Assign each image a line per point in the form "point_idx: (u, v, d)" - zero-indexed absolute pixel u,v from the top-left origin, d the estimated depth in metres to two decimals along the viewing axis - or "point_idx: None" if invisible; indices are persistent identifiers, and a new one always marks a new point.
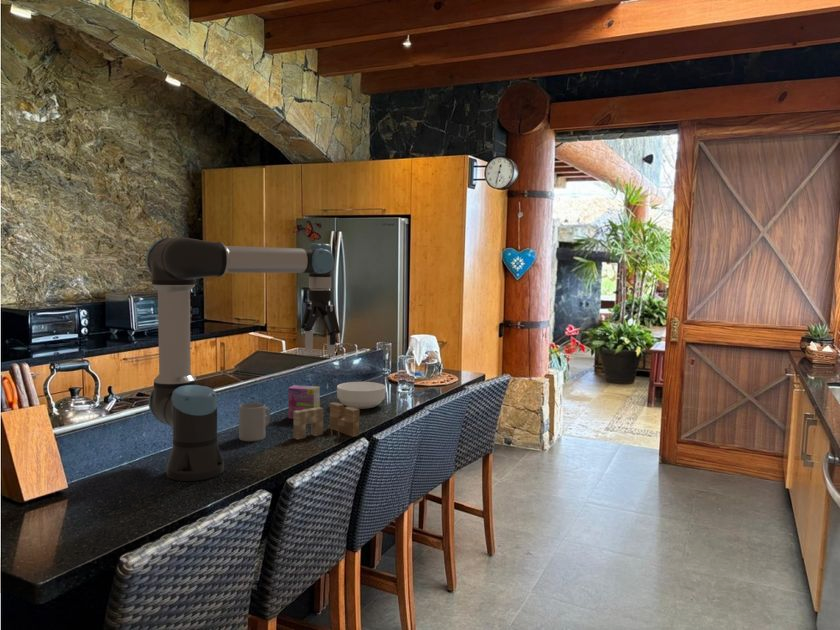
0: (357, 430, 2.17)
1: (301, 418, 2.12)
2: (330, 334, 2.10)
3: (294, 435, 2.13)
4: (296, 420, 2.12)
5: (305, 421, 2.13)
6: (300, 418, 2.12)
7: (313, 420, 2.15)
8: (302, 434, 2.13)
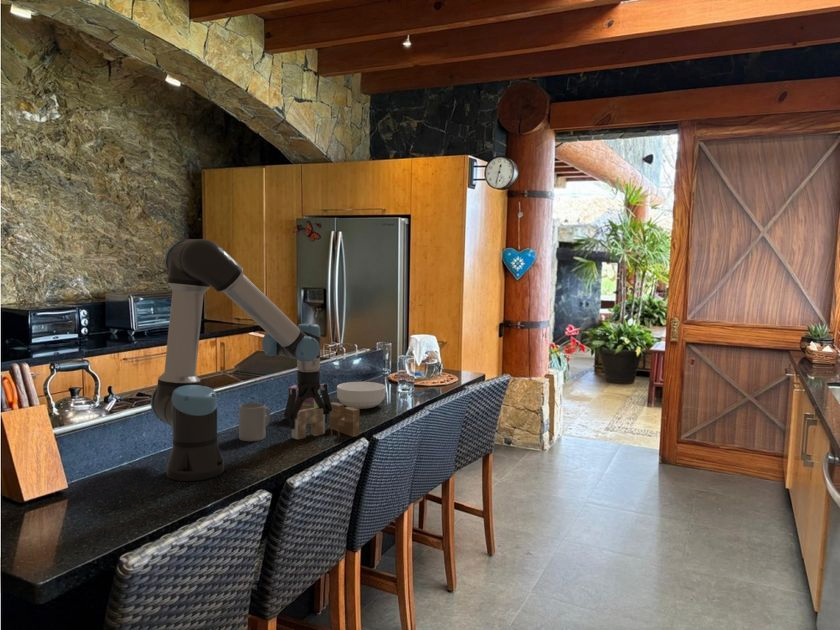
0: (357, 430, 2.17)
1: (301, 418, 2.12)
2: None
3: None
4: None
5: (306, 421, 2.13)
6: (300, 418, 2.12)
7: (313, 420, 2.15)
8: (302, 434, 2.13)
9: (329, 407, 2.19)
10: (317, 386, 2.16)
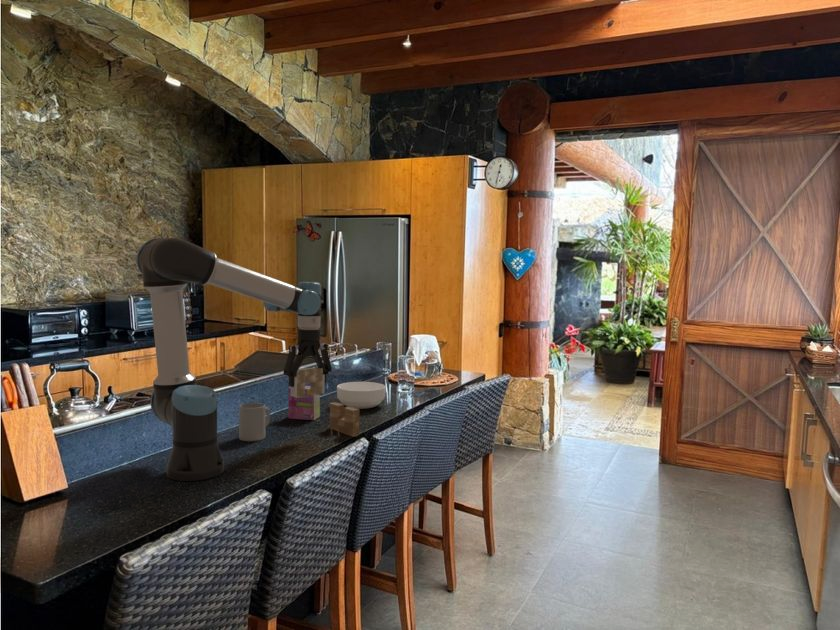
0: (357, 430, 2.17)
1: (300, 376, 2.11)
2: (288, 375, 2.10)
3: None
4: None
5: (305, 379, 2.12)
6: (300, 376, 2.10)
7: (312, 379, 2.14)
8: (301, 393, 2.11)
9: (329, 367, 2.18)
10: (317, 345, 2.14)
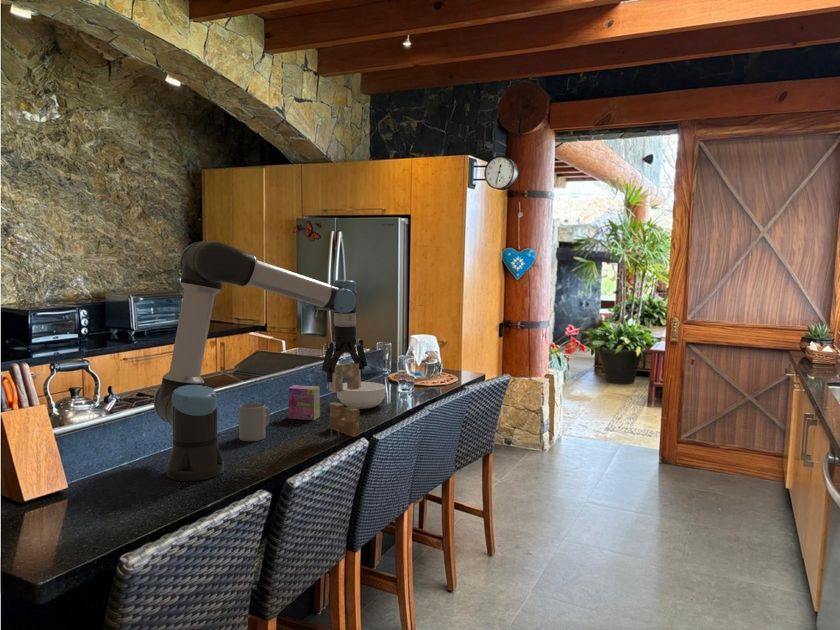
0: (357, 430, 2.17)
1: (338, 372, 2.17)
2: (326, 371, 2.17)
3: None
4: None
5: (342, 375, 2.18)
6: (337, 371, 2.17)
7: (349, 374, 2.20)
8: (339, 387, 2.18)
9: (364, 362, 2.24)
10: (353, 341, 2.20)
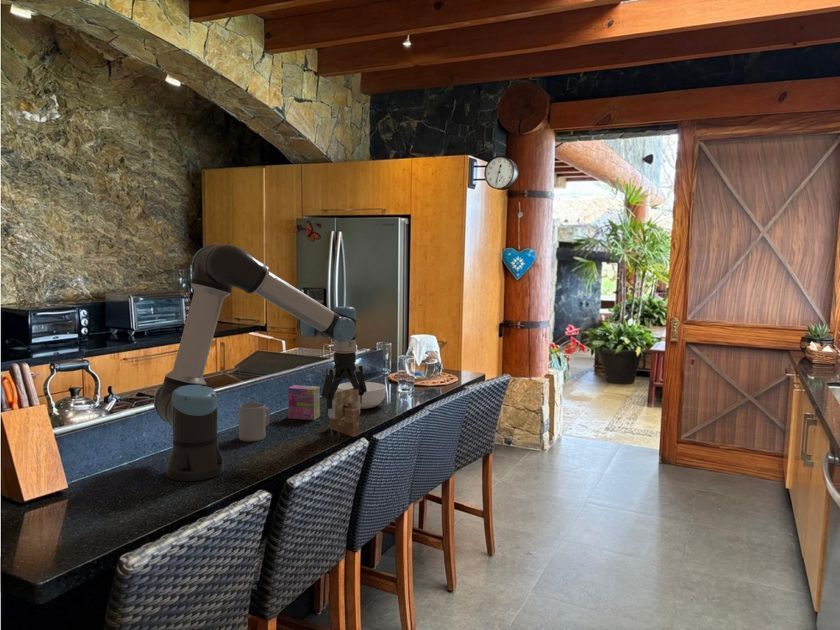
0: (357, 430, 2.17)
1: (338, 398, 2.18)
2: None
3: None
4: None
5: (342, 401, 2.19)
6: (337, 398, 2.18)
7: (349, 400, 2.21)
8: (339, 414, 2.19)
9: (364, 388, 2.25)
10: (353, 367, 2.21)
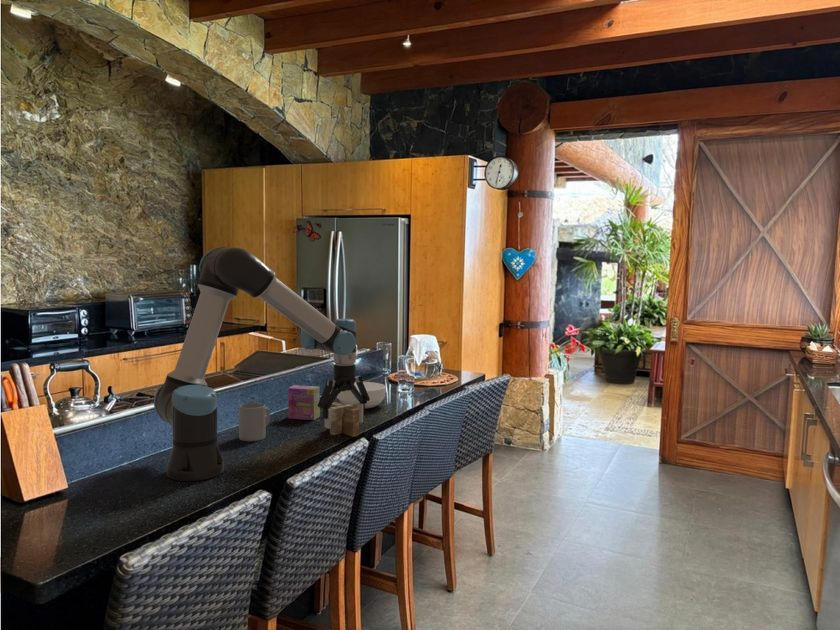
0: (357, 430, 2.17)
1: (338, 414, 2.18)
2: None
3: (331, 431, 2.19)
4: (333, 416, 2.18)
5: (342, 417, 2.20)
6: (337, 414, 2.18)
7: None
8: (338, 430, 2.19)
9: (367, 397, 2.26)
10: (352, 380, 2.22)
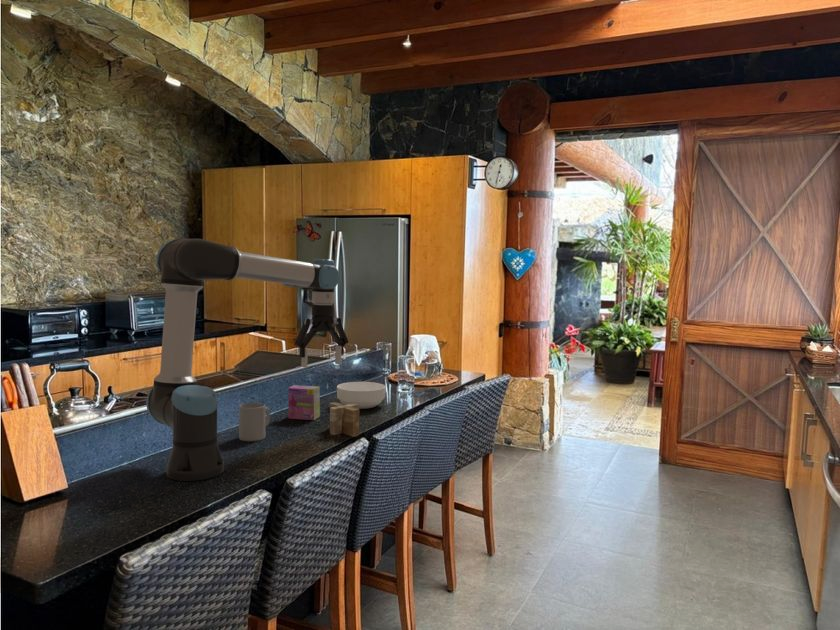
0: (357, 430, 2.17)
1: (338, 414, 2.18)
2: (299, 346, 2.16)
3: (331, 431, 2.19)
4: (333, 416, 2.18)
5: (342, 417, 2.20)
6: (337, 414, 2.18)
7: None
8: (338, 430, 2.19)
9: (345, 340, 2.26)
10: (331, 321, 2.21)
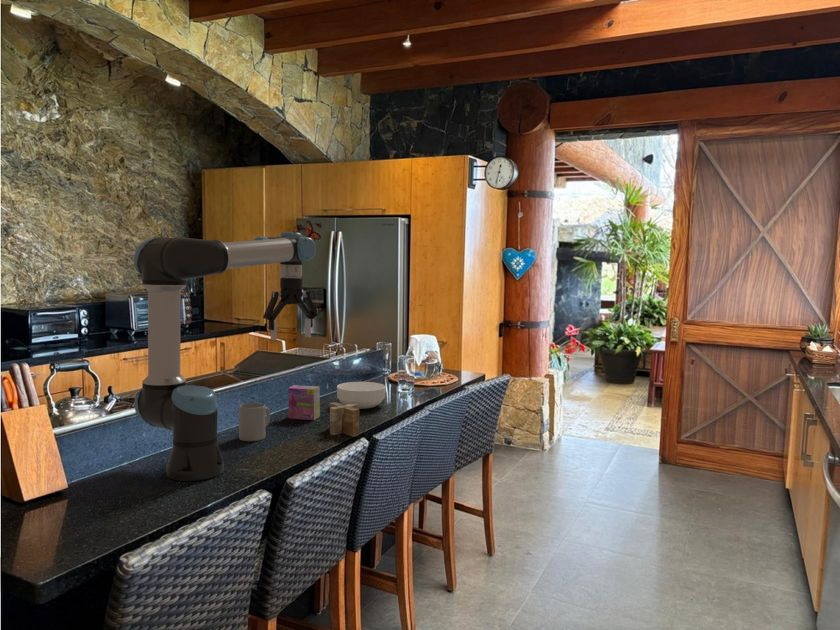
0: (357, 430, 2.17)
1: (338, 414, 2.18)
2: None
3: (331, 431, 2.19)
4: (333, 416, 2.18)
5: (342, 417, 2.20)
6: (337, 414, 2.18)
7: None
8: (338, 430, 2.19)
9: (314, 313, 2.28)
10: (299, 294, 2.23)
